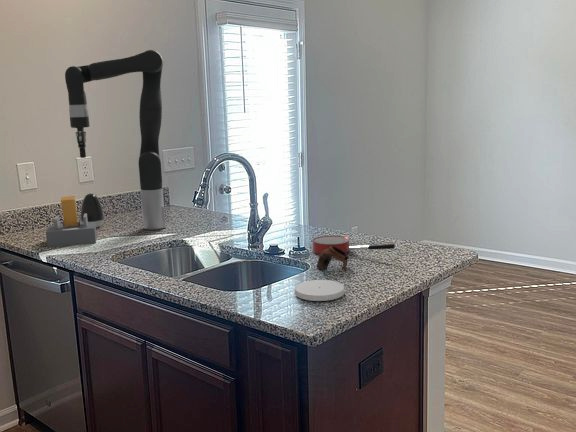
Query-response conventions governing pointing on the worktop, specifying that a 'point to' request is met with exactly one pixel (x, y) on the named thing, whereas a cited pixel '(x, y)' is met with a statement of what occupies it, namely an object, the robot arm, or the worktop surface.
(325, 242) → the frying pan
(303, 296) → the plastic lid
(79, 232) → the switch box
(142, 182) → the robot arm
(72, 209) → the lever
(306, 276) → the worktop surface
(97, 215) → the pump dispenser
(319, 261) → the brown arched piece
